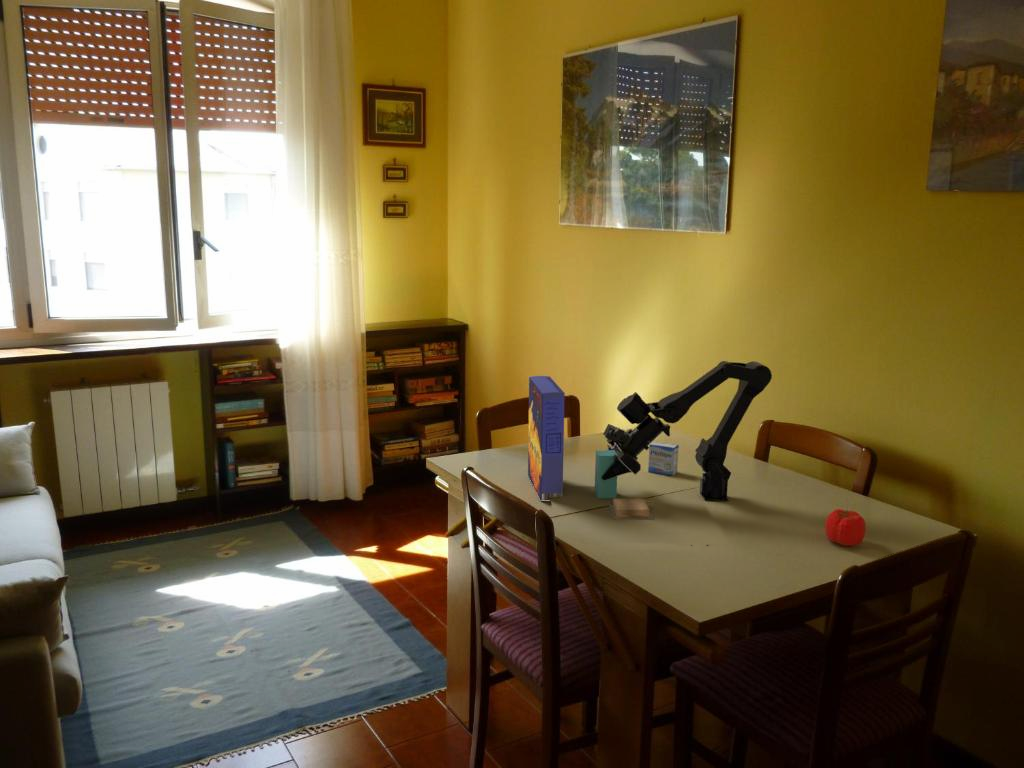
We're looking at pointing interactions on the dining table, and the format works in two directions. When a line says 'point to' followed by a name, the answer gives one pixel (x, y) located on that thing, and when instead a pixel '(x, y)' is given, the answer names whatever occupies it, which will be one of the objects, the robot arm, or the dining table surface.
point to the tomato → (845, 527)
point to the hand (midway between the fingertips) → (600, 475)
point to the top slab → (630, 508)
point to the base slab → (629, 517)
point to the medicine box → (663, 458)
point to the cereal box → (546, 437)
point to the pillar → (601, 465)
